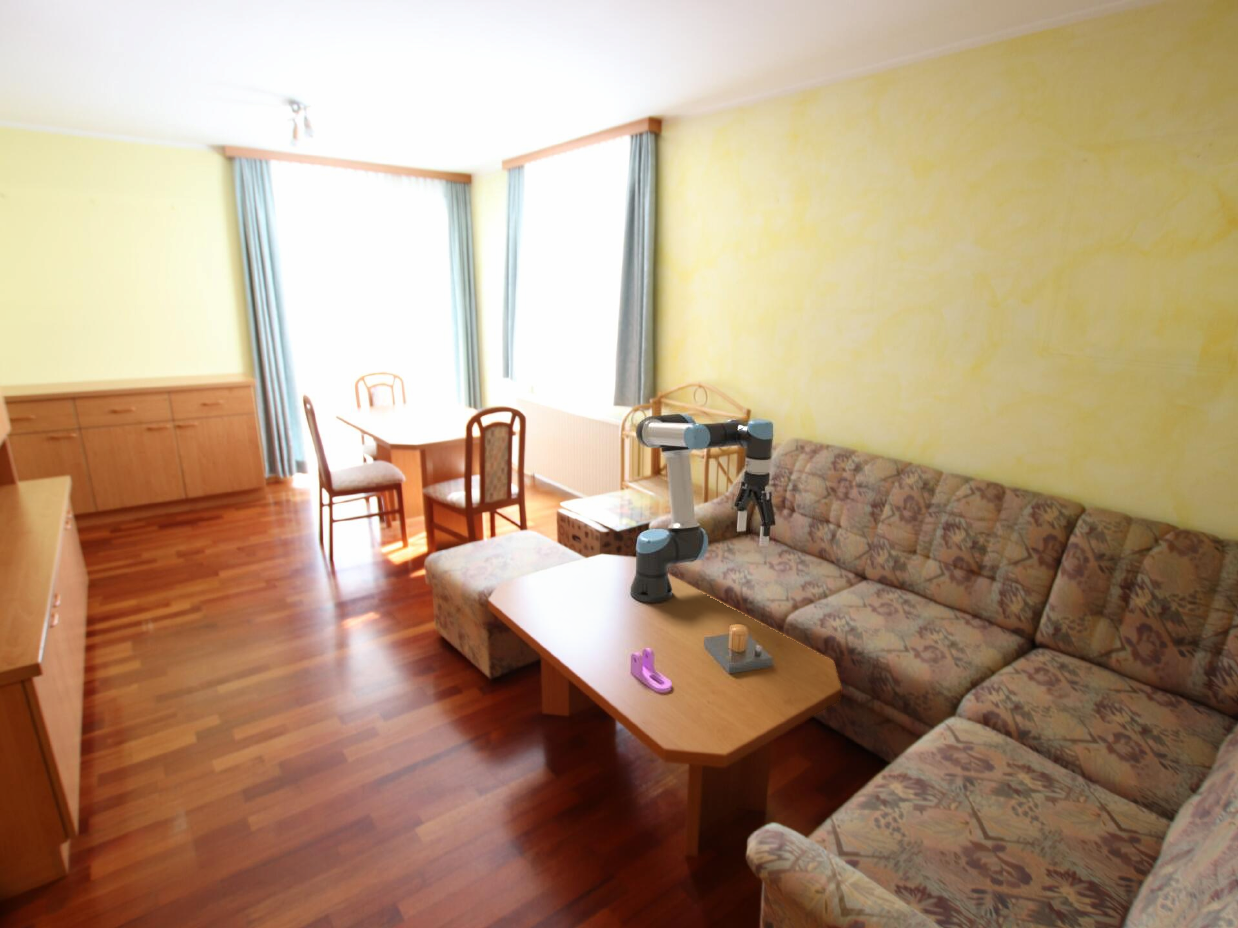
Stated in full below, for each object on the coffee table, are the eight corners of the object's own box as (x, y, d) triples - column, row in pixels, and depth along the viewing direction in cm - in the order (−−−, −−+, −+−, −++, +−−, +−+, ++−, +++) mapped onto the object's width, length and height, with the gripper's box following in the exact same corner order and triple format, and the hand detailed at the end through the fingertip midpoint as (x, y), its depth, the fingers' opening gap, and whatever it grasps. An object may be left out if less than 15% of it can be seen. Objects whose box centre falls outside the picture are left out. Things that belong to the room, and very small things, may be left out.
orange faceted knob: (725, 644, 195) (726, 625, 194) (740, 641, 197) (742, 623, 195) (733, 652, 190) (735, 633, 189) (749, 650, 192) (750, 631, 190)
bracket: (630, 673, 184) (631, 651, 183) (645, 667, 187) (646, 645, 186) (659, 695, 174) (660, 672, 172) (675, 688, 177) (676, 665, 176)
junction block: (703, 646, 199) (705, 625, 198) (744, 639, 204) (745, 619, 202) (728, 673, 185) (730, 651, 183) (771, 666, 189) (773, 644, 188)
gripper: (726, 462, 205) (722, 525, 210) (768, 482, 182) (762, 553, 187) (747, 461, 207) (742, 523, 212) (791, 481, 184) (785, 551, 189)
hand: (752, 538), depth 199 cm, fingers open, 13 cm apart
